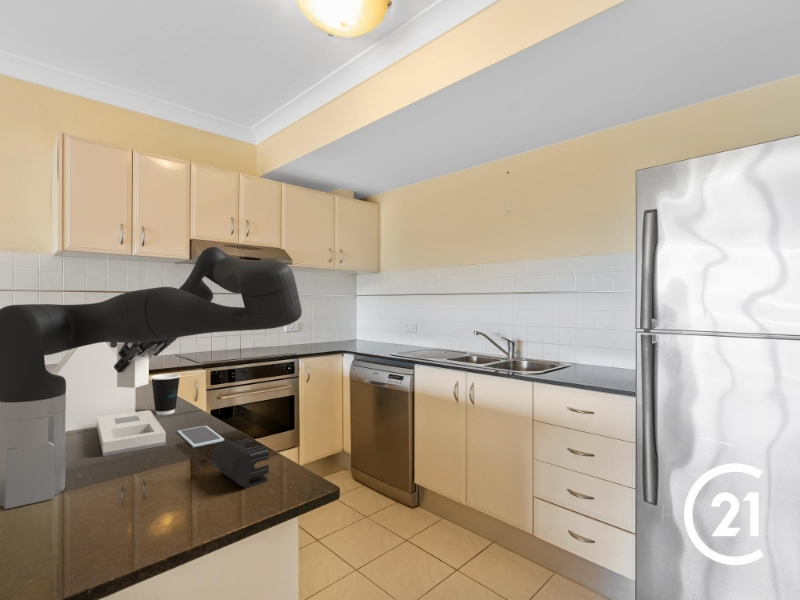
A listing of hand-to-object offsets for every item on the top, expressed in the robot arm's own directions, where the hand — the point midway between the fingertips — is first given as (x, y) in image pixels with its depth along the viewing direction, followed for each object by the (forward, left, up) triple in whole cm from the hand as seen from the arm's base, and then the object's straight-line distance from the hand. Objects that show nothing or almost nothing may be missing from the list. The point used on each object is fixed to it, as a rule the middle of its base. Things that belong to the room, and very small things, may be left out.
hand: (125, 367), depth 100 cm
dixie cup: (+24, -12, -18) cm, 32 cm away
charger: (-1, -1, -4) cm, 5 cm away
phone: (-5, -15, -18) cm, 25 cm away
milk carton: (+27, +6, -18) cm, 33 cm away
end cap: (-36, -15, -18) cm, 43 cm away
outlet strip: (+5, -1, -18) cm, 18 cm away
